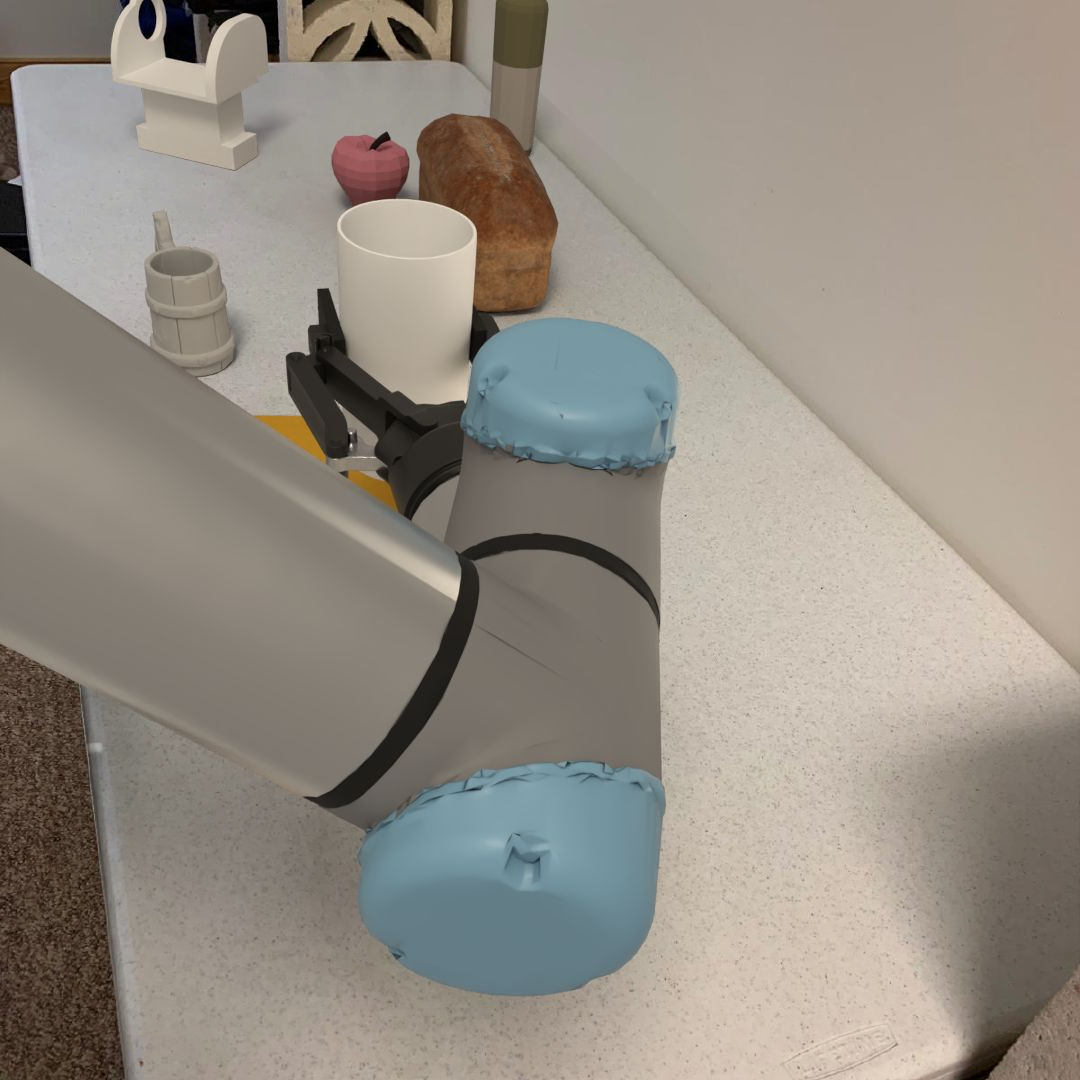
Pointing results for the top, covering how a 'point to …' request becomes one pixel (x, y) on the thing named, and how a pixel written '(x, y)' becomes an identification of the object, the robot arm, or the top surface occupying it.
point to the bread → (492, 206)
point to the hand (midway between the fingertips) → (390, 303)
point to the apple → (370, 167)
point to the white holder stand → (192, 88)
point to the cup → (407, 299)
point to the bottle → (518, 65)
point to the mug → (187, 304)
